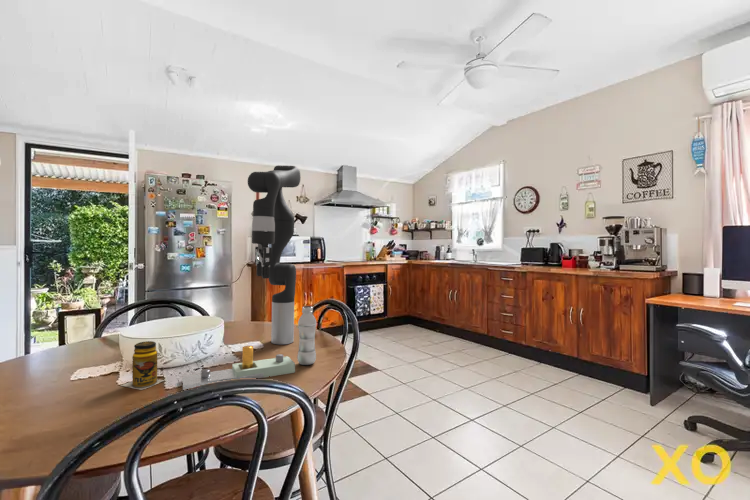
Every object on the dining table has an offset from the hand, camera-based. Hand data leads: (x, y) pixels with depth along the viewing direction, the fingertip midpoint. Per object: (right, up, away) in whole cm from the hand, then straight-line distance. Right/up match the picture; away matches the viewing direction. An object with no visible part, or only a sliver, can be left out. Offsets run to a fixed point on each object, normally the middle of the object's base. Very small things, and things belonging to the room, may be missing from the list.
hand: (262, 277), depth 121 cm
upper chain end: (+3, -30, -8) cm, 31 cm away
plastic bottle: (+15, -31, +1) cm, 34 cm away
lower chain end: (-7, -30, -14) cm, 34 cm away
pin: (-1, -30, -10) cm, 32 cm away
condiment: (-29, -30, -18) cm, 46 cm away
